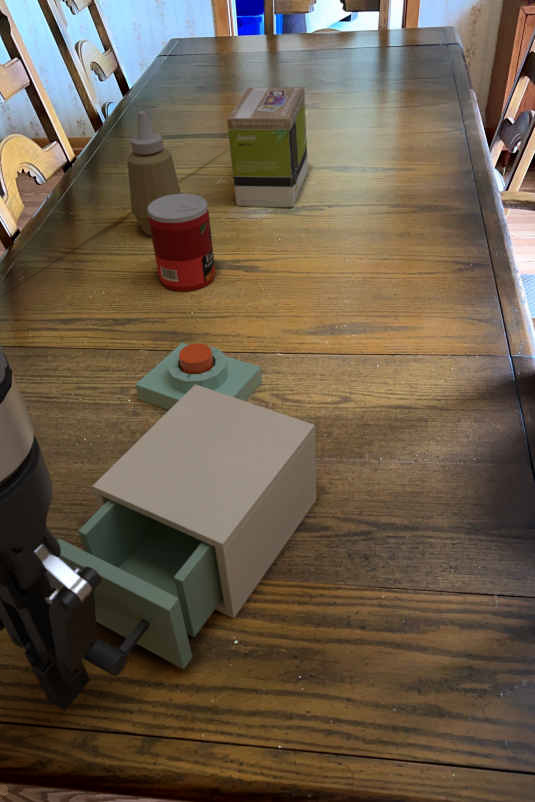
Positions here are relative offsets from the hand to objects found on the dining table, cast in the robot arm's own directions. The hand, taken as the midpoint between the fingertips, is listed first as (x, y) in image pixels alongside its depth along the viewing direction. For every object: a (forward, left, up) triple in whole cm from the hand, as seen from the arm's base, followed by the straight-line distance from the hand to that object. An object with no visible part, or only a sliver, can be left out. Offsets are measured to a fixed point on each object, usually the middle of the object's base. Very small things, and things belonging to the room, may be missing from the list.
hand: (69, 690), depth 52 cm
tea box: (-33, +86, -3) cm, 92 cm away
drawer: (0, +10, -2) cm, 11 cm away
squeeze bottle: (-42, +66, -3) cm, 78 cm away
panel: (-13, +35, -2) cm, 38 cm away
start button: (-13, +35, +1) cm, 38 cm away
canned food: (-29, +55, -3) cm, 62 cm away
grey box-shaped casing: (0, +19, -2) cm, 19 cm away
